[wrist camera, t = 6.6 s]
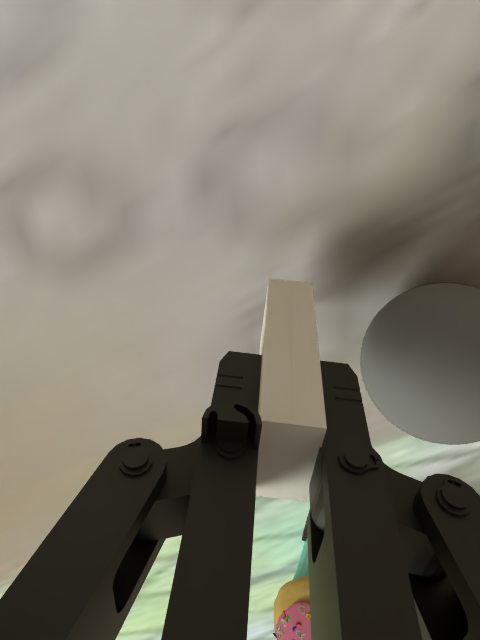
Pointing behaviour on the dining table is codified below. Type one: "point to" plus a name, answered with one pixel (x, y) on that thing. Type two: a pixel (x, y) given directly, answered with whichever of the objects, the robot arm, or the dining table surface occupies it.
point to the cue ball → (427, 362)
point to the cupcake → (294, 605)
